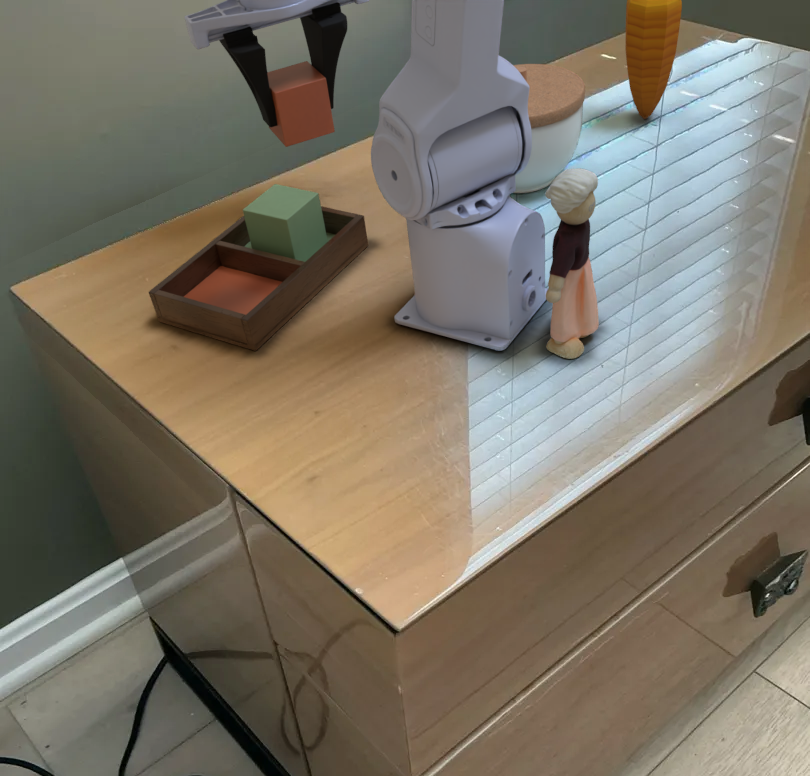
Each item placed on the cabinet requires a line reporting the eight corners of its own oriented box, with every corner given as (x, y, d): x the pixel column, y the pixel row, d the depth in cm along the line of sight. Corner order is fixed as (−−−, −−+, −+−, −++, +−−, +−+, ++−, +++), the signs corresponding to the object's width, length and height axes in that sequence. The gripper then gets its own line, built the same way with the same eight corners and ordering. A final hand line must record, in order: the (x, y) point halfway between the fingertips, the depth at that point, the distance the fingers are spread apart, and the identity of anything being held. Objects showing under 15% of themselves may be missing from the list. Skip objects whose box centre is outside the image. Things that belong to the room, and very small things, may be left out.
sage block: (328, 242, 80) (318, 192, 77) (297, 270, 78) (286, 219, 75) (285, 232, 82) (274, 183, 79) (254, 259, 80) (241, 209, 76)
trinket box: (523, 219, 81) (521, 109, 74) (439, 182, 87) (429, 76, 80) (607, 170, 85) (613, 61, 78) (521, 137, 91) (519, 34, 84)
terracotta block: (316, 113, 83) (307, 60, 80) (335, 132, 80) (326, 77, 77) (268, 128, 82) (257, 74, 79) (285, 147, 80) (274, 93, 76)
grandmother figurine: (594, 368, 66) (602, 199, 57) (539, 366, 67) (538, 199, 58) (601, 305, 71) (610, 140, 62) (550, 304, 72) (551, 140, 63)
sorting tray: (368, 245, 81) (364, 215, 79) (255, 351, 72) (247, 320, 70) (275, 223, 85) (269, 194, 83) (158, 321, 76) (147, 291, 74)
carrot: (609, 114, 92) (618, -61, 81) (656, 102, 93) (671, -73, 82) (633, 135, 89) (645, -45, 78) (681, 122, 89) (700, -58, 78)
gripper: (333, -104, 74) (359, 75, 84) (156, -59, 72) (204, 121, 81) (368, -84, 70) (390, 102, 80) (180, -35, 67) (228, 151, 77)
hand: (298, 113), depth 80 cm, fingers closed on terracotta block, 4 cm apart
